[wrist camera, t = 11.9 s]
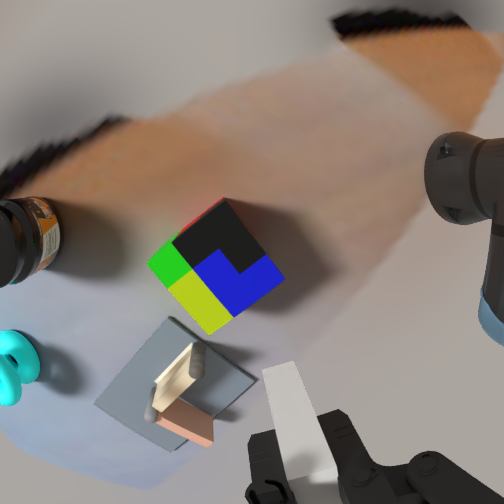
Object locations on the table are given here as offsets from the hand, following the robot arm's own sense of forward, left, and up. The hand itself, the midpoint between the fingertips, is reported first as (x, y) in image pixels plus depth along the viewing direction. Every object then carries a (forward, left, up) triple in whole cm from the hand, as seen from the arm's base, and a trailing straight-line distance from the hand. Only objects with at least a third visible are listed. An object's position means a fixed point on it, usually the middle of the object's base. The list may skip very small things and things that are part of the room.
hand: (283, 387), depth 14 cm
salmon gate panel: (+14, +20, -27) cm, 37 cm away
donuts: (+41, +7, -29) cm, 50 cm away
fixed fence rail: (+12, +13, -28) cm, 33 cm away
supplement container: (+28, -11, -29) cm, 41 cm away
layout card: (+16, +18, -28) cm, 37 cm away
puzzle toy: (+3, -2, -29) cm, 29 cm away
